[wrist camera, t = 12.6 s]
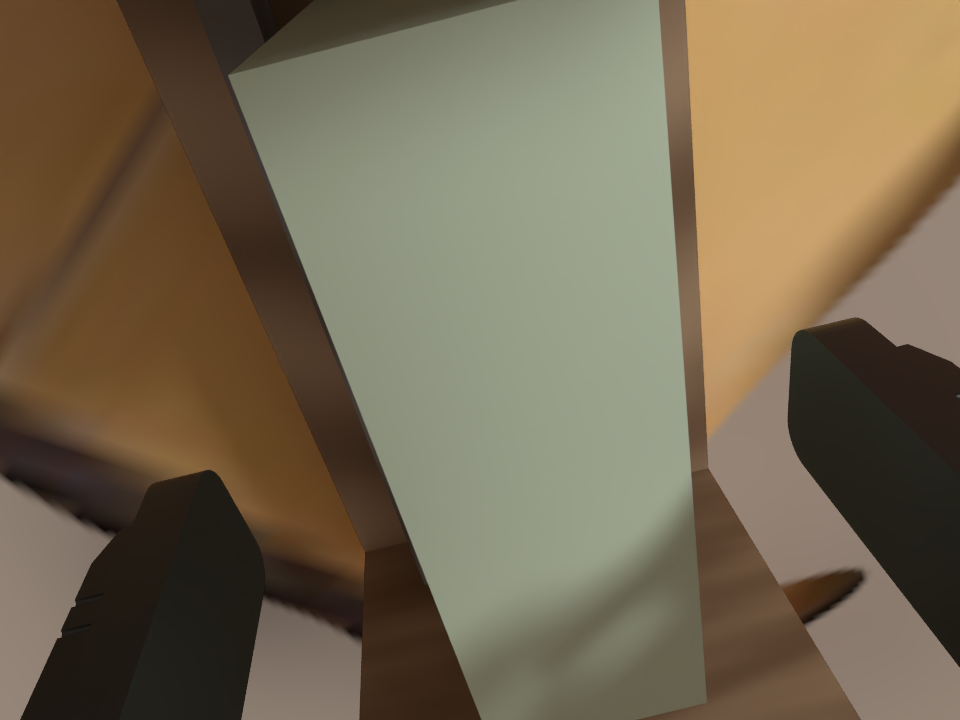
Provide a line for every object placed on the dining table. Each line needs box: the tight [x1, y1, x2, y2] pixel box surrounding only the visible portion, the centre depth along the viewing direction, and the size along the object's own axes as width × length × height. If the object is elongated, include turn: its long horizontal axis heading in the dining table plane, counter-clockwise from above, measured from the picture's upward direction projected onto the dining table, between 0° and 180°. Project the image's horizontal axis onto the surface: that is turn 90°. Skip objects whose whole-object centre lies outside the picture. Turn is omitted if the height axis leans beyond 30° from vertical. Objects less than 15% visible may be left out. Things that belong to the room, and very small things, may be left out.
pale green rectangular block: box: [228, 0, 707, 720], centre depth 14 cm, size 12×4×10 cm, turn 12°
